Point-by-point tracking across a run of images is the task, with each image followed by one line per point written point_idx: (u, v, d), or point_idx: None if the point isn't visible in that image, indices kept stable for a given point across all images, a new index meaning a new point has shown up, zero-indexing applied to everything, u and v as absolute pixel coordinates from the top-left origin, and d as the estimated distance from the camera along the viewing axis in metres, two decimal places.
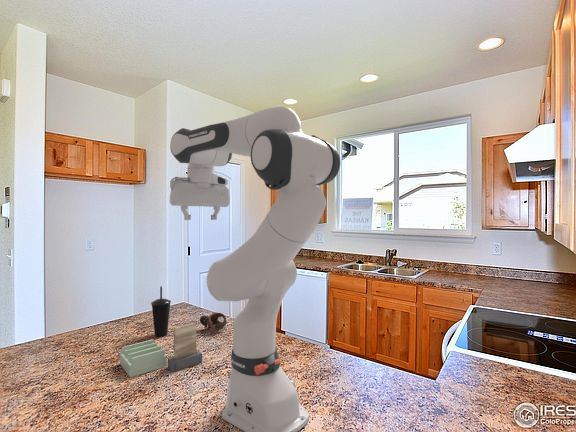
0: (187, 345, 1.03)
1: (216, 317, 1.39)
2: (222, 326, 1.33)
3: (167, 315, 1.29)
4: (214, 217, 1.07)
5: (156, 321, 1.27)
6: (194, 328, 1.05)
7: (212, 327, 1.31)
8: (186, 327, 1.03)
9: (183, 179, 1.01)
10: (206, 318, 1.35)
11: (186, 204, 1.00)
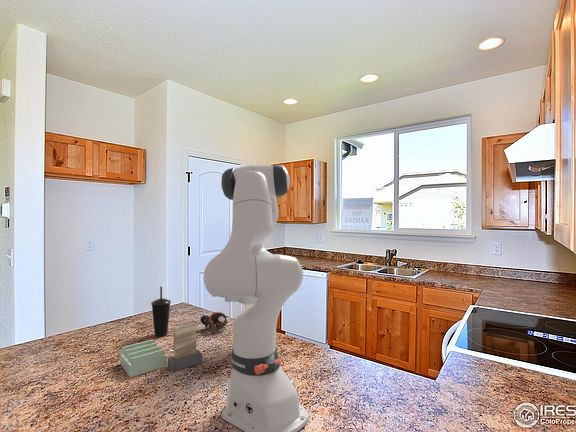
0: (187, 345, 1.03)
1: (217, 317, 1.40)
2: (223, 326, 1.33)
3: (167, 315, 1.29)
4: None
5: (156, 321, 1.27)
6: (194, 328, 1.05)
7: (213, 327, 1.31)
8: (186, 327, 1.03)
9: None
10: (207, 318, 1.35)
11: None
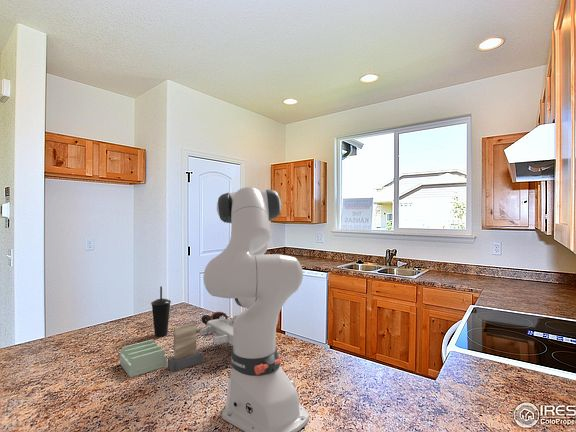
0: (187, 345, 1.03)
1: (218, 316, 1.40)
2: None
3: (167, 315, 1.29)
4: (215, 336, 1.06)
5: (156, 321, 1.27)
6: (194, 328, 1.05)
7: None
8: (186, 327, 1.03)
9: None
10: (208, 317, 1.36)
11: (212, 324, 1.16)
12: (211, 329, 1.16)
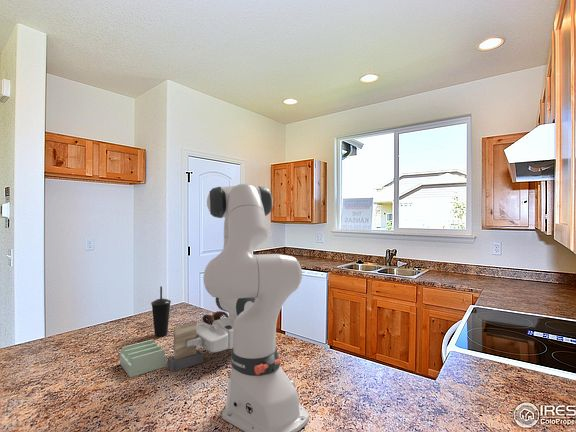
0: None
1: (218, 316, 1.41)
2: None
3: (167, 315, 1.29)
4: (188, 340, 1.03)
5: (156, 321, 1.27)
6: (194, 328, 1.05)
7: None
8: (186, 327, 1.03)
9: None
10: (209, 317, 1.37)
11: None
12: None
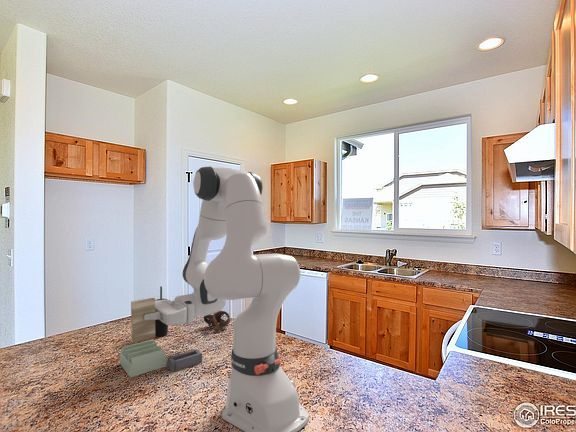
0: (145, 320, 1.03)
1: (219, 315, 1.42)
2: (226, 324, 1.35)
3: None
4: (146, 314, 1.03)
5: (156, 321, 1.27)
6: (153, 303, 1.05)
7: (216, 325, 1.34)
8: (144, 302, 1.03)
9: None
10: (210, 316, 1.37)
11: None
12: None
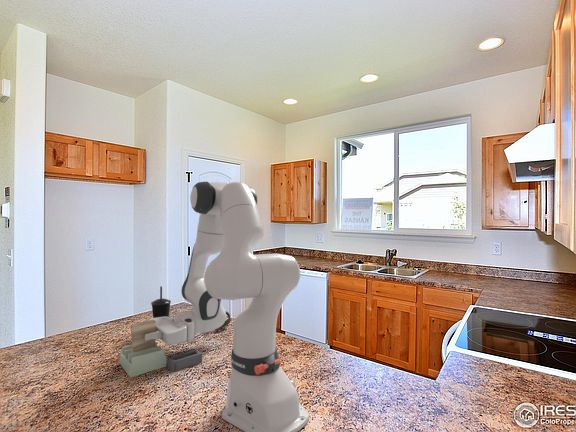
0: (145, 342, 1.03)
1: None
2: (227, 323, 1.36)
3: (167, 315, 1.29)
4: (146, 333, 1.02)
5: None
6: (153, 325, 1.05)
7: None
8: (144, 324, 1.03)
9: None
10: None
11: None
12: None
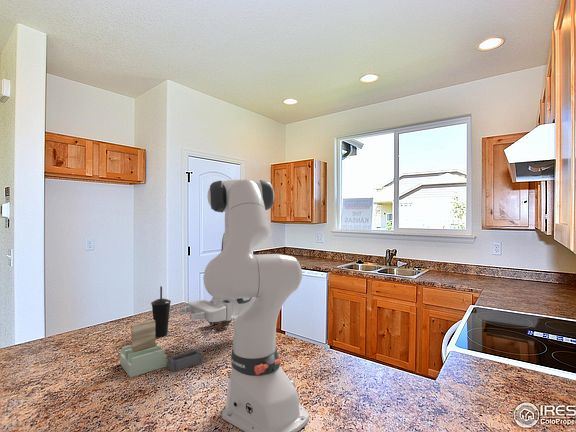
0: (145, 342, 1.03)
1: None
2: (228, 323, 1.37)
3: (167, 315, 1.29)
4: (193, 313, 1.09)
5: (156, 321, 1.27)
6: (153, 325, 1.05)
7: (218, 324, 1.35)
8: (144, 324, 1.03)
9: None
10: None
11: (191, 304, 1.20)
12: (190, 309, 1.19)
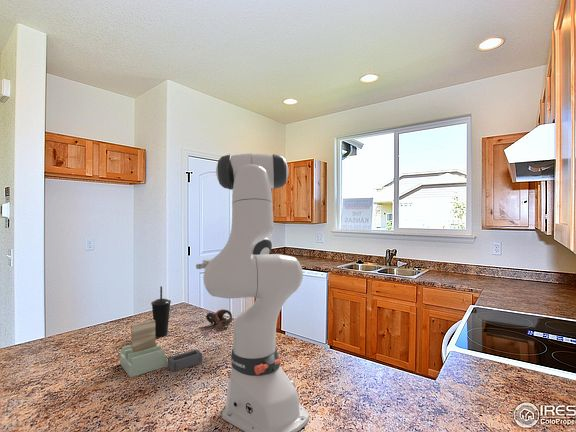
0: (145, 342, 1.03)
1: (221, 314, 1.44)
2: (229, 322, 1.37)
3: (167, 315, 1.29)
4: None
5: (156, 321, 1.27)
6: (153, 325, 1.05)
7: (219, 323, 1.36)
8: (144, 324, 1.03)
9: None
10: (212, 315, 1.39)
11: (207, 260, 1.23)
12: (206, 265, 1.22)
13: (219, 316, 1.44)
